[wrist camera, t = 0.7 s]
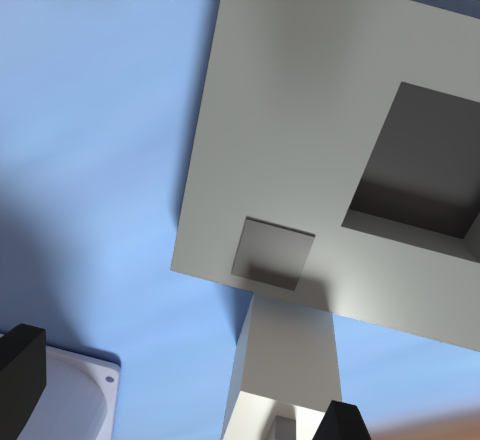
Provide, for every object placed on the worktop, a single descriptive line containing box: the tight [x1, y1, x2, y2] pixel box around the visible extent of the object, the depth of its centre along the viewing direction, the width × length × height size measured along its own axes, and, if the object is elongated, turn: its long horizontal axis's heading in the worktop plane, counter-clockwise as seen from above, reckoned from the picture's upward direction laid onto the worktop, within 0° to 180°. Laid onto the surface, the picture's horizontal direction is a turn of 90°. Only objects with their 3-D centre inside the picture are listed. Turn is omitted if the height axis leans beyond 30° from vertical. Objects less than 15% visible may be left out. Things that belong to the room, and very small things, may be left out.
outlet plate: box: [170, 0, 480, 352], centre depth 16 cm, size 12×16×2 cm
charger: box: [221, 293, 342, 440], centre depth 19 cm, size 4×4×7 cm
